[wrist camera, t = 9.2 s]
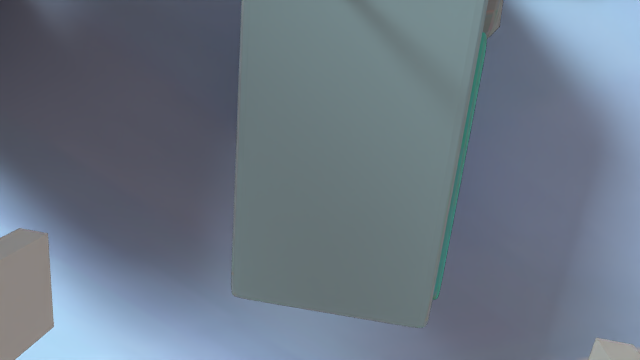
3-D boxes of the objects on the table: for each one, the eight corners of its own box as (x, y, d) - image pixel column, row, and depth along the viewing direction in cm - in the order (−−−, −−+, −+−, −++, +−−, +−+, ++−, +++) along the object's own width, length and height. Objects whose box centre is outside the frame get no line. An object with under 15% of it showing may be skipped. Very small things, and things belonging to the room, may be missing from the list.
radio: (432, 222, 28) (507, 575, 9) (291, 202, 30) (106, 482, 11) (481, -58, 24) (827, -476, 5) (312, -69, 25) (48, -443, 6)
